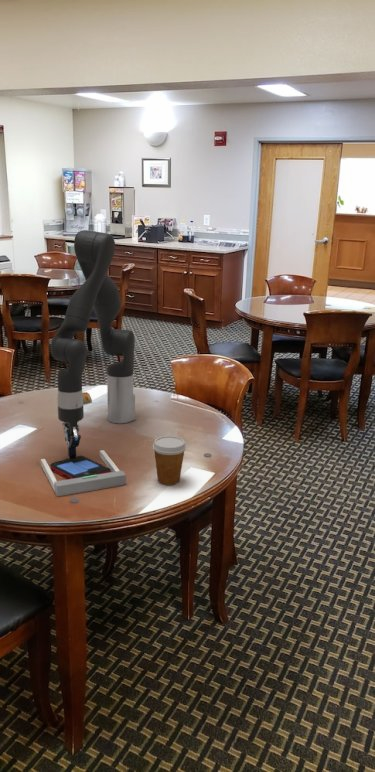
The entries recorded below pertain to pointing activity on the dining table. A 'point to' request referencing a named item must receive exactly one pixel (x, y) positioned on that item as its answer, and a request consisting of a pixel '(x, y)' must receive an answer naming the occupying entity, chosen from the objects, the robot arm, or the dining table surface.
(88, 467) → the game console
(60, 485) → the charging dock
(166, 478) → the disposable coffee cup
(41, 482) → the dining table surface
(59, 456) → the dining table surface
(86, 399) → the pastry
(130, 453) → the dining table surface
